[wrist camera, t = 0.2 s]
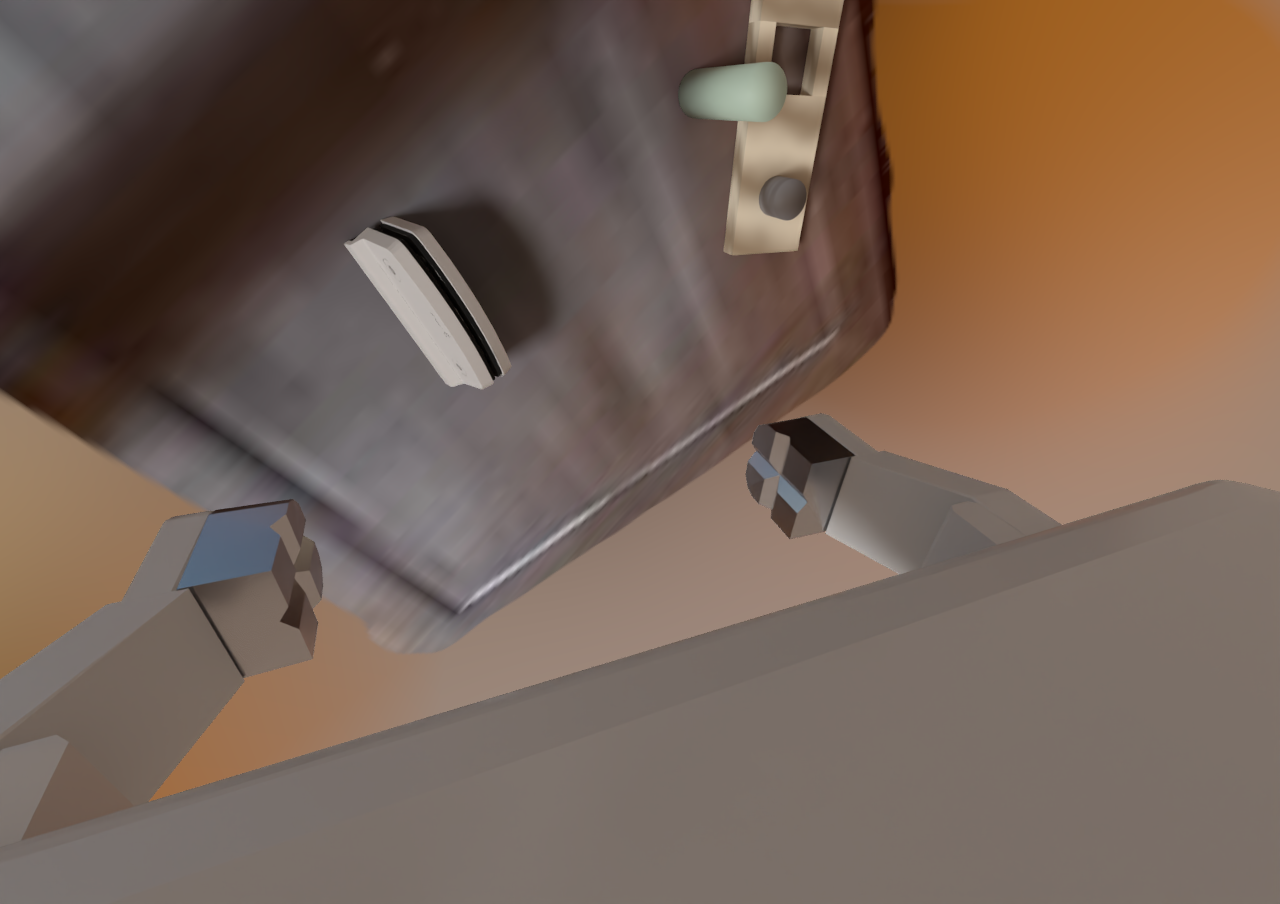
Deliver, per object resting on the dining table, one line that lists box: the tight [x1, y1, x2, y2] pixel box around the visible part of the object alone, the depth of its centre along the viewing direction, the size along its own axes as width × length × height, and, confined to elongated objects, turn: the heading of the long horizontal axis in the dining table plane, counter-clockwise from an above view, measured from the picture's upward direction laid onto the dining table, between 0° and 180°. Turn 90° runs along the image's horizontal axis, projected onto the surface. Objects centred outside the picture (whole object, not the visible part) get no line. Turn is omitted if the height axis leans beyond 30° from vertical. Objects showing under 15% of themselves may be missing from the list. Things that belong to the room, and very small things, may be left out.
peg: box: [678, 62, 787, 122], centre depth 47 cm, size 4×4×12 cm
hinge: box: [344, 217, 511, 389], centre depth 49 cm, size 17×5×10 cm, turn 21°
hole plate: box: [724, 0, 844, 255], centre depth 54 cm, size 24×9×5 cm, turn 178°
